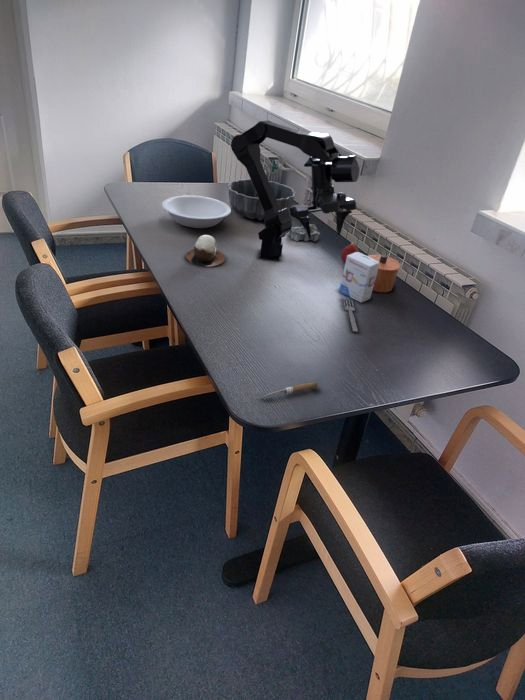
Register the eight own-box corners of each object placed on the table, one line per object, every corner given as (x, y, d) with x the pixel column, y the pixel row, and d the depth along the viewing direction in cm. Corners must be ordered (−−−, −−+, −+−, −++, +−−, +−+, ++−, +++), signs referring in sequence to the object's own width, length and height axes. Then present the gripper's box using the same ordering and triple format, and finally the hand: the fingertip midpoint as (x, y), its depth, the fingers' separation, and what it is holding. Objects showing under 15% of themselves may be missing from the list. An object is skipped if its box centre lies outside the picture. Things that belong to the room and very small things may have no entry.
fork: (360, 333, 125) (360, 331, 124) (349, 331, 125) (350, 330, 124) (352, 301, 139) (352, 299, 138) (342, 300, 139) (342, 298, 138)
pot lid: (367, 270, 142) (369, 261, 140) (361, 255, 151) (364, 246, 149) (403, 275, 142) (405, 265, 140) (395, 260, 151) (398, 251, 149)
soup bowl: (241, 232, 172) (243, 214, 168) (180, 240, 160) (181, 221, 156) (209, 210, 188) (210, 193, 184) (151, 215, 175) (150, 197, 171)
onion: (355, 270, 157) (361, 247, 152) (338, 267, 157) (343, 244, 153) (356, 263, 162) (362, 241, 157) (339, 260, 162) (344, 238, 158)
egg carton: (314, 234, 180) (316, 223, 177) (319, 242, 174) (322, 231, 171) (286, 233, 177) (288, 222, 175) (291, 241, 171) (293, 230, 169)
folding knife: (260, 403, 97) (261, 396, 96) (257, 398, 98) (258, 391, 97) (318, 391, 103) (319, 383, 102) (314, 386, 104) (316, 379, 103)
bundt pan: (216, 202, 196) (218, 177, 190) (275, 202, 206) (278, 178, 200) (239, 227, 176) (242, 200, 171) (303, 224, 187) (307, 199, 181)
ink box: (337, 291, 143) (346, 254, 136) (347, 287, 146) (356, 250, 139) (361, 303, 138) (371, 265, 132) (370, 298, 141) (381, 261, 135)
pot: (362, 290, 146) (368, 268, 142) (358, 275, 154) (363, 254, 150) (395, 294, 146) (402, 272, 142) (389, 279, 154) (395, 258, 150)
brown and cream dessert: (189, 243, 156) (211, 224, 151) (211, 268, 159) (233, 250, 154) (177, 256, 146) (201, 236, 141) (201, 282, 149) (224, 263, 144)
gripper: (299, 190, 129) (302, 247, 136) (364, 181, 132) (364, 238, 139) (287, 185, 139) (291, 239, 146) (348, 177, 142) (349, 230, 149)
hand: (324, 237), depth 145 cm, fingers open, 9 cm apart
